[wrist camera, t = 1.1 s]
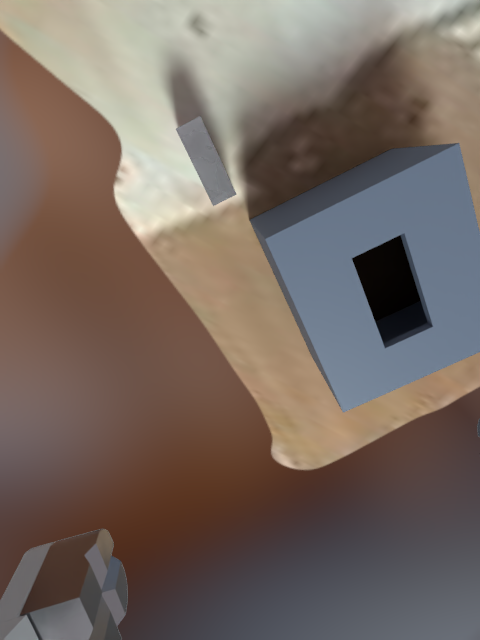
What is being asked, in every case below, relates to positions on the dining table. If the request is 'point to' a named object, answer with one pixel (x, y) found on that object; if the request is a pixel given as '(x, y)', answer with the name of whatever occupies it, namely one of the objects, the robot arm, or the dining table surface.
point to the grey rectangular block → (206, 160)
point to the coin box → (364, 234)
